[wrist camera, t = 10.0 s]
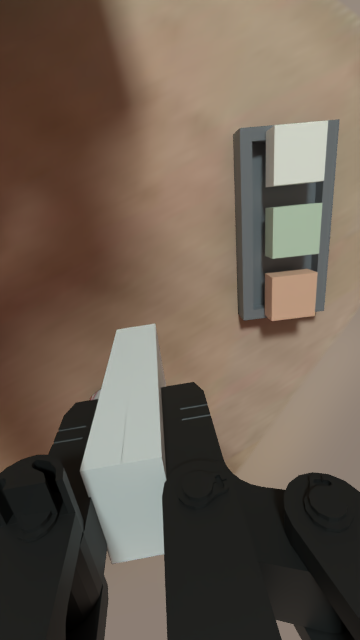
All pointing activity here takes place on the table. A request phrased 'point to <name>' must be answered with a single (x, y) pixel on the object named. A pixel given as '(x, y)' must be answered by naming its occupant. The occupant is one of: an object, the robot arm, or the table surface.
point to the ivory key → (296, 153)
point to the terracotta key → (290, 294)
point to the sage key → (292, 230)
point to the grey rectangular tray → (252, 218)
